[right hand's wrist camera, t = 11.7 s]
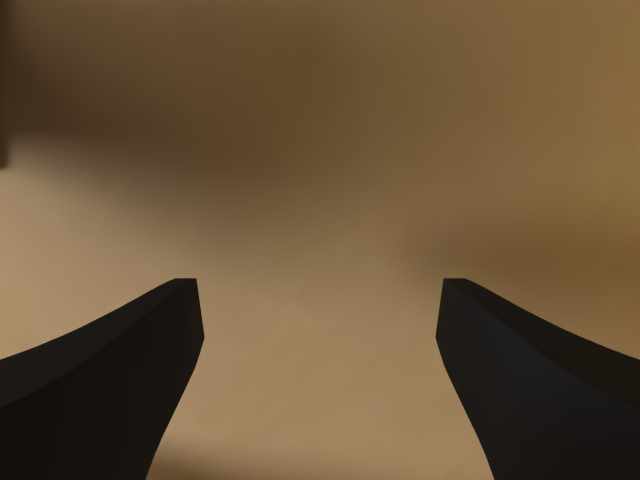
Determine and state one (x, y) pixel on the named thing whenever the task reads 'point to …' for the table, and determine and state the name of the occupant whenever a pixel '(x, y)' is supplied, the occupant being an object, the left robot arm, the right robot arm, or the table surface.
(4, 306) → the table surface
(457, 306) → the right robot arm
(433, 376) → the table surface
